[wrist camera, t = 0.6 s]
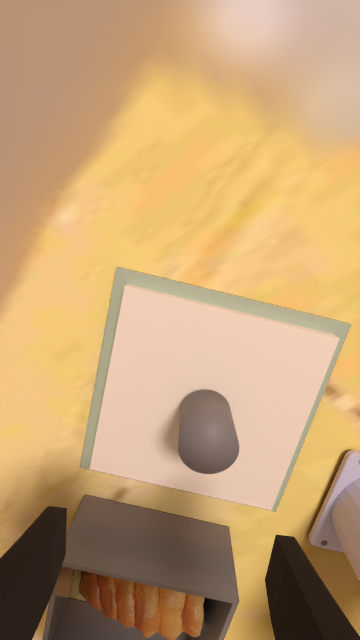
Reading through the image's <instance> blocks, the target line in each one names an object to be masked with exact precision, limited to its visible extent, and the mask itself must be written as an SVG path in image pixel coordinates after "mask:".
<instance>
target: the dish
mask: <svg viewBox="0 0 360 640" xmlns="http://www.w3.org/2000/svg"><path fill="white" fill-rule="evenodd" d="M74 569H76V570H81V571H86V572H90V573H95V574H99V575H104V576H109V577H113V578H118V579H122V580H127V581H131V582H136V583H141V584H145V585H150V586H154V587H159V588H164V589H168V590H173V591H177V592H182V593H187V594H191V595H196V596H200V597H204V603H203V610H204V619H203V623H202V629H201V632H200V635H199V636H198V637H192V636H190V635H189V634H187V633H185V632H181V633H180V635H179V636H178V637H177V638H176V639H175V640H224V638H225V635H226V633H227V630H228V628H229V625H230V623H231V620H232V618H233V615H234V613H235V610H236V608H237V605H238V603H239V596H238V588H237V581H236V574H235V567H234V560H233V552H232V545H231V538H230V531H229V527H227V526H222V525H218V524H213V523H209V522H204V521H200V520H196V519H191V518H187V517H182V516H178V515H173V514H169V513H164V512H160V511H156V510H151V509H147V508H142V507H138V506H133V505H129V504H124V503H120V502H115V501H111V500H107V499H102V498H98V497H93V496H89V495H84V498H83V500H82V502H81V505H80V507H79V509H78V512H77V514H76V516H75V519H74V521H73V523H72V526H71V528H70V530H69V533H68V535H67V537H66V555H65V558H64V561H63V564H62V567H61V570H60V573H59V576H58V579H57V581H56V584H55V587H54V590H53V593H52V595H51V597H50V600H49V606H48V612H47V617H46V623H45V629H44V634H43V640H167V639H166V638H165V637H163V636H161V635H160V634H159V633H157V632H156V633H155V634H153V635H152V636H151V637H149V638H145V637H144V636H143V635H142V633H141V631H140V630H139V629H137V628H133V627H127V628H125V627H123V626H122V624H121V622H119V621H118V620H115V619H110V618H107V617H105V615H104V614H103V612H102V611H100V610H98V609H95V608H94V607H92V606H91V605H90V604H89V603H88V602H84V601H80V600H75V599H70V598H69V593H70V588H71V583H72V578H73V573H74Z"/></svg>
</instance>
